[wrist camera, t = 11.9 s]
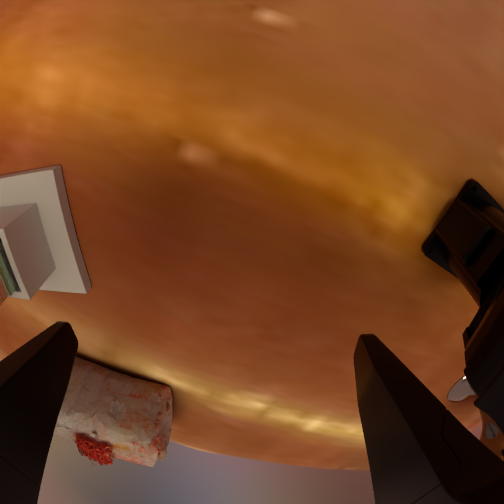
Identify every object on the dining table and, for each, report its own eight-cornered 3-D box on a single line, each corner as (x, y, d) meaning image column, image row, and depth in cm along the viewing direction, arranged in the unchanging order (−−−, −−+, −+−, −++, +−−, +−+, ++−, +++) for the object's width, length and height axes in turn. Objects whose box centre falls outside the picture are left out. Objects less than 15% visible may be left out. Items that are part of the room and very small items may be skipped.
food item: (183, 382, 29) (163, 471, 21) (174, 417, 33) (158, 491, 25) (58, 339, 28) (17, 414, 19) (67, 381, 32) (38, 446, 23)
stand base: (60, 165, 18) (7, 197, 13) (91, 286, 23) (59, 335, 18) (-22, 180, 19) (-68, 210, 14) (10, 279, 24) (-23, 318, 19)
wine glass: (507, 356, 27) (554, 455, 14) (484, 394, 31) (518, 484, 18) (456, 372, 28) (499, 487, 15) (436, 409, 32) (465, 509, 19)
